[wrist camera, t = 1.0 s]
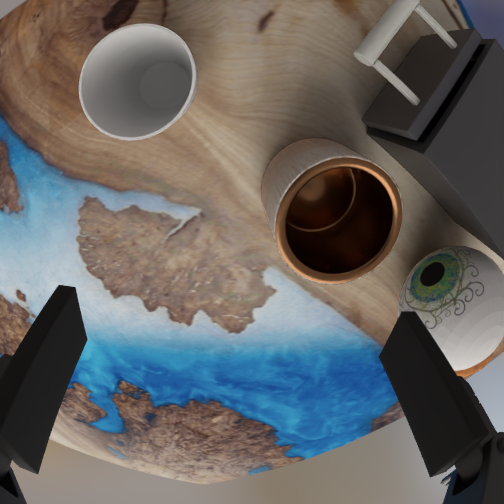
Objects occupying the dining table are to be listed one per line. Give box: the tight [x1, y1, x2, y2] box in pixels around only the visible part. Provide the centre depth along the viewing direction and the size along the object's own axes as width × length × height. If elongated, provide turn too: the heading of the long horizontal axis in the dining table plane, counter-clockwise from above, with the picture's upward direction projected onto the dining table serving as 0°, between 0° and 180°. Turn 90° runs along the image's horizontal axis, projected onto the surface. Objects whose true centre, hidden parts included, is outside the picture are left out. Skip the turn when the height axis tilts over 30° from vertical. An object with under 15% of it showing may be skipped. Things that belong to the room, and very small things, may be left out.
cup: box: [79, 23, 198, 140], centre depth 21 cm, size 8×8×10 cm
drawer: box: [353, 0, 482, 143], centre depth 23 cm, size 23×13×9 cm, turn 56°
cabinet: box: [367, 39, 504, 259], centre depth 24 cm, size 18×14×11 cm
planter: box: [261, 138, 404, 284], centre depth 27 cm, size 11×11×10 cm
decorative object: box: [398, 246, 504, 371], centre depth 31 cm, size 15×15×15 cm
